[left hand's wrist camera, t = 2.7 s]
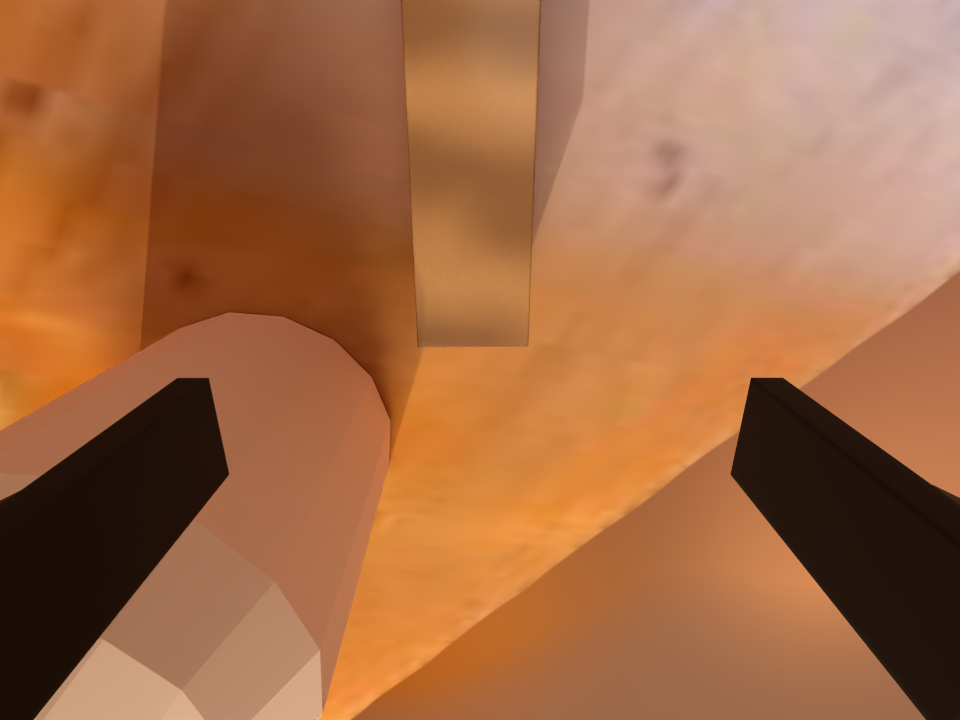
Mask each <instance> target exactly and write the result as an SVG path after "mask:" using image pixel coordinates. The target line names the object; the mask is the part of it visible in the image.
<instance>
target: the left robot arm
mask: <svg viewBox="0 0 960 720" xmlns="http://www.w3.org/2000/svg"><path fill="white" fill-rule="evenodd" d="M228 476H229V470H228V466H227V461H226V456H225V451H224V447H223V442H222V437H221V433H220V428H219V423H218V419H217V414H216V409H215V404H214V400H213V395H212V390H211V386H210V381H209V378H176V379H175V380H174V381H172V382H171V383H169V384H168V385H167V386H165V387H164V388H162V389H161V390H160V391H158V392H157V393H155V394H154V395H153V396H151V397H150V398H149V399H147V400H146V401H144V402H143V403H142V404H140V405H139V406H137V407H136V408H135V409H133V410H132V411H130V412H129V413H128V414H126V415H125V416H123V417H122V418H121V419H119V420H118V421H117V422H115V423H114V424H112V425H111V426H110V427H108V428H107V429H105V430H104V431H103V432H101V433H100V434H98V435H97V436H96V437H94V438H93V439H91V440H90V441H89V442H87V443H86V444H85V445H83V446H82V447H80V448H79V449H78V450H76V451H75V452H73V453H72V454H71V455H69V456H68V457H66V458H65V459H64V460H62V461H61V462H59V463H58V464H57V465H55V466H54V467H52V468H51V469H50V470H48V471H47V472H46V473H44V474H43V475H41V476H40V477H39V478H37V479H36V480H34V481H33V482H32V483H30V484H29V485H27V486H26V487H25V488H23V489H22V490H20V491H18V492H16V493H14V494H12V495H10V496H8V497H6V498H4V499H2V500H0V720H34V719H35V718H36V716H37V715H38V714H39V713H40V711H41V710H42V709H43V708H44V706H45V705H46V704H47V703H48V701H49V700H50V699H51V698H52V696H53V695H54V694H55V693H56V691H57V690H58V689H59V688H60V686H61V685H62V684H63V683H64V681H65V680H66V679H67V678H68V676H69V675H70V674H71V672H72V671H73V670H74V669H75V667H76V666H77V665H78V664H79V662H80V661H81V660H82V659H83V657H84V656H85V655H86V654H87V652H88V651H89V650H90V649H91V647H92V646H93V645H94V644H95V642H96V641H97V640H98V639H99V637H100V636H101V635H102V634H103V632H104V631H105V630H106V629H107V627H108V626H109V625H110V624H111V622H112V621H113V620H114V619H115V617H116V616H117V615H118V614H119V612H120V611H121V610H122V609H123V607H124V606H125V605H126V604H127V602H128V601H129V600H130V599H131V597H132V596H133V595H134V594H135V592H136V591H137V590H138V588H139V587H140V586H141V585H142V583H143V582H144V581H145V580H146V578H147V577H148V576H149V575H150V573H151V572H152V571H153V570H154V568H155V567H156V566H157V565H158V563H159V562H160V561H161V560H162V558H163V557H164V556H165V555H166V553H167V552H168V551H169V550H170V548H171V547H172V546H173V545H174V543H175V542H176V541H177V540H178V538H179V537H180V536H181V535H182V533H183V532H184V531H185V530H186V528H187V527H188V526H189V525H190V523H191V522H192V521H193V520H194V518H195V517H196V516H197V515H198V513H199V512H200V511H201V509H202V508H203V507H204V506H205V504H206V503H207V502H208V501H209V499H210V498H211V497H212V496H213V494H214V493H215V492H216V491H217V489H218V488H219V487H220V486H221V484H222V483H223V482H224V481H225V479H226V478H227V477H228ZM731 476H732V477H733V478H734V479H735V481H736V482H737V483H738V484H739V486H740V487H741V488H742V489H743V491H744V492H745V493H746V494H747V496H748V497H749V498H750V499H751V501H752V502H753V503H754V504H755V506H756V507H757V508H758V509H759V511H760V512H761V513H762V515H763V516H764V517H765V518H766V520H767V521H768V522H769V523H770V525H771V526H772V527H773V528H774V530H775V531H776V532H777V533H778V535H779V536H780V537H781V538H782V540H783V541H784V542H785V543H786V545H787V546H788V547H789V548H790V550H791V551H792V552H793V553H794V555H795V556H796V557H797V558H798V560H799V561H800V562H801V563H802V565H803V566H804V567H805V568H806V570H807V571H808V572H809V573H810V575H811V576H812V577H813V578H814V580H815V581H816V582H817V583H818V585H819V586H820V587H821V588H822V590H823V591H824V592H825V593H826V595H827V596H828V597H829V598H830V600H831V601H832V602H833V603H834V605H835V606H836V607H837V608H838V610H839V611H840V612H841V614H842V615H843V616H844V617H845V619H846V620H847V621H848V622H849V624H850V625H851V626H852V627H853V629H854V630H855V631H856V632H857V634H858V635H859V636H860V637H861V639H862V640H863V641H864V642H865V644H866V645H867V646H868V647H869V649H870V650H871V651H872V652H873V654H874V655H875V656H876V657H877V659H878V660H879V661H880V662H881V664H882V665H883V666H884V667H885V669H886V670H887V671H888V672H889V674H890V675H891V676H892V678H893V679H894V680H895V681H896V683H897V684H898V685H899V686H900V688H901V689H902V690H903V691H904V692H905V694H906V695H907V696H908V698H909V699H910V700H911V701H912V703H913V704H914V705H915V706H916V708H917V709H918V710H919V711H920V713H921V714H922V715H923V716H924V718H925V719H926V720H960V498H959V497H957V496H955V495H952V494H950V493H948V492H946V491H944V490H942V489H940V488H938V487H936V486H934V485H931V484H930V483H928V482H927V481H926V480H924V479H923V478H921V477H920V476H919V475H917V474H916V473H914V472H913V471H912V470H910V469H909V468H908V467H906V466H905V465H903V464H902V463H901V462H899V461H898V460H896V459H895V458H893V457H892V456H891V455H889V454H888V453H887V452H885V451H884V450H882V449H881V448H880V447H878V446H877V445H875V444H874V443H873V442H871V441H870V440H869V439H867V438H866V437H864V436H863V435H862V434H860V433H859V432H857V431H856V430H855V429H853V428H852V427H850V426H849V425H848V424H846V423H845V422H843V421H842V420H841V419H839V418H838V417H837V416H835V415H834V414H832V413H831V412H830V411H828V410H827V409H825V408H824V407H823V406H821V405H820V404H818V403H817V402H816V401H814V400H813V399H811V398H810V397H809V396H807V395H806V394H805V393H803V392H802V391H800V390H799V389H798V388H796V387H795V386H793V385H792V384H791V383H789V382H788V381H786V380H785V379H784V378H751V381H750V386H749V390H748V395H747V400H746V404H745V409H744V414H743V419H742V423H741V428H740V433H739V437H738V442H737V447H736V451H735V456H734V461H733V466H732V470H731Z"/></svg>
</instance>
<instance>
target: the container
mask: <svg viewBox="0 0 960 720" xmlns="http://www.w3.org/2000/svg"><path fill="white" fill-rule="evenodd" d="M176 378H209V381H210V386H211V390H212V395H213V400H214V404H215V409H216V414H217V419H218V423H219V428H220V433H221V437H222V442H223V447H224V451H225V456H226V461H227V466H228V470H229V476H228V477H227V478H226V479H225V481H224V482H223V483H222V484H221V486H220V487H219V488H218V489H217V491H216V492H215V493H214V494H213V496H212V497H211V498H210V499H209V501H208V502H207V503H206V504H205V506H204V507H203V508H202V509H201V511H200V512H199V513H198V515H197V516H196V517H195V518H194V520H193V521H192V522H191V523H190V525H189V526H188V527H187V528H186V530H185V531H184V532H183V533H182V535H181V536H180V537H179V538H178V540H177V541H176V542H175V543H174V545H173V546H172V547H171V548H170V550H169V551H168V552H167V553H166V555H165V556H164V557H163V558H162V560H161V561H160V562H159V563H158V565H157V566H156V567H155V568H154V570H153V571H152V572H151V573H150V575H149V576H148V577H147V578H146V580H145V581H144V582H143V583H142V585H141V586H140V587H139V588H138V590H137V591H136V592H135V594H134V595H133V596H132V597H131V599H130V600H129V601H128V602H127V604H126V605H125V606H124V607H123V609H122V610H121V611H120V612H119V614H118V615H117V616H116V617H115V619H114V620H113V621H112V622H111V624H110V625H109V626H108V627H107V629H106V630H105V631H104V632H103V634H102V635H101V636H100V637H99V639H98V640H97V641H96V642H95V644H94V645H93V646H92V647H91V649H90V650H89V651H88V652H87V654H86V655H85V656H84V657H83V659H82V660H81V661H80V662H79V664H78V665H77V666H76V667H75V669H74V670H73V671H72V672H71V674H70V675H69V676H68V678H67V679H66V680H65V681H64V683H63V684H62V685H61V686H60V688H59V689H58V690H57V691H56V693H55V694H54V695H53V696H52V698H51V699H50V700H49V701H48V703H47V704H46V705H45V706H44V708H43V709H42V710H41V711H40V713H39V714H38V715H37V716H36V718H35V719H34V720H319V718H320V717H321V715H322V714H323V710H324V706H325V702H326V699H327V695H328V691H329V687H330V684H331V680H332V676H333V673H334V669H335V665H336V661H337V658H338V654H339V650H340V646H341V643H342V639H343V635H344V631H345V628H346V624H347V620H348V616H349V613H350V609H351V605H352V601H353V598H354V594H355V590H356V586H357V583H358V579H359V575H360V571H361V568H362V564H363V560H364V556H365V553H366V549H367V545H368V541H369V538H370V534H371V530H372V526H373V523H374V519H375V515H376V511H377V508H378V504H379V500H380V496H381V493H382V489H383V485H384V481H385V478H386V474H387V470H388V466H389V457H390V419H389V416H388V414H387V412H386V409H385V407H384V405H383V402H382V400H381V398H380V395H379V393H378V391H377V388H376V386H375V384H374V381H373V379H372V377H371V376H370V375H369V374H368V373H367V372H366V371H365V370H364V369H363V368H362V367H361V366H360V365H359V364H358V363H357V362H356V361H355V360H354V359H353V358H352V357H351V356H350V355H349V354H348V353H347V352H346V351H345V350H344V349H343V348H342V347H341V346H340V345H339V344H338V343H337V342H336V341H335V340H333V339H331V338H329V337H326V336H324V335H322V334H320V333H318V332H316V331H313V330H311V329H309V328H307V327H305V326H303V325H300V324H298V323H296V322H294V321H292V320H290V319H288V318H285V317H281V316H268V315H256V314H244V313H231V312H228V313H225V314H222V315H219V316H216V317H213V318H210V319H207V320H203V321H200V322H197V323H194V324H191V325H188V326H185V327H182V328H179V329H178V330H176V331H174V332H172V333H171V334H169V335H167V336H165V337H164V338H162V339H160V340H158V341H157V342H155V343H153V344H151V345H150V346H148V347H146V348H144V349H143V350H141V351H139V352H137V353H136V354H134V355H132V356H130V357H129V358H127V359H125V360H123V361H122V362H120V363H118V364H116V365H115V366H113V367H111V368H109V369H108V370H106V371H104V372H102V373H101V374H99V375H97V376H96V377H94V378H92V379H90V380H89V381H87V382H85V383H83V384H82V385H80V386H78V387H76V388H75V389H73V390H71V391H69V392H68V393H66V394H64V395H62V396H61V397H59V398H57V399H55V400H54V401H52V402H50V403H48V404H47V405H45V406H43V407H41V408H40V409H38V410H36V411H34V412H33V413H31V414H29V415H27V416H26V417H24V418H22V419H20V420H19V421H17V422H15V423H13V424H12V425H10V426H8V427H6V428H5V429H3V430H1V431H0V500H2V499H4V498H6V497H8V496H10V495H12V494H14V493H16V492H18V491H20V490H22V489H23V488H25V487H26V486H27V485H29V484H30V483H32V482H33V481H34V480H36V479H37V478H39V477H40V476H41V475H43V474H44V473H46V472H47V471H48V470H50V469H51V468H52V467H54V466H55V465H57V464H58V463H59V462H61V461H62V460H64V459H65V458H66V457H68V456H69V455H71V454H72V453H73V452H75V451H76V450H78V449H79V448H80V447H82V446H83V445H85V444H86V443H87V442H89V441H90V440H91V439H93V438H94V437H96V436H97V435H98V434H100V433H101V432H103V431H104V430H105V429H107V428H108V427H110V426H111V425H112V424H114V423H115V422H117V421H118V420H119V419H121V418H122V417H123V416H125V415H126V414H128V413H129V412H130V411H132V410H133V409H135V408H136V407H137V406H139V405H140V404H142V403H143V402H144V401H146V400H147V399H149V398H150V397H151V396H153V395H154V394H155V393H157V392H158V391H160V390H161V389H162V388H164V387H165V386H167V385H168V384H169V383H171V382H172V381H174V380H175V379H176Z"/></svg>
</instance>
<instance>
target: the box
mask: <svg viewBox="0 0 960 720" xmlns="http://www.w3.org/2000/svg"><path fill="white" fill-rule="evenodd" d="M401 8H402V29H403V49H404V70H405V91H406V112H407V133H408V154H409V175H410V196H411V216H412V237H413V258H414V279H415V300H416V321H417V342H418V347H527V346H528V339H529V312H530V285H531V258H532V231H533V204H534V177H535V150H536V124H537V97H538V70H539V43H540V16H541V0H401Z"/></svg>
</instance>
